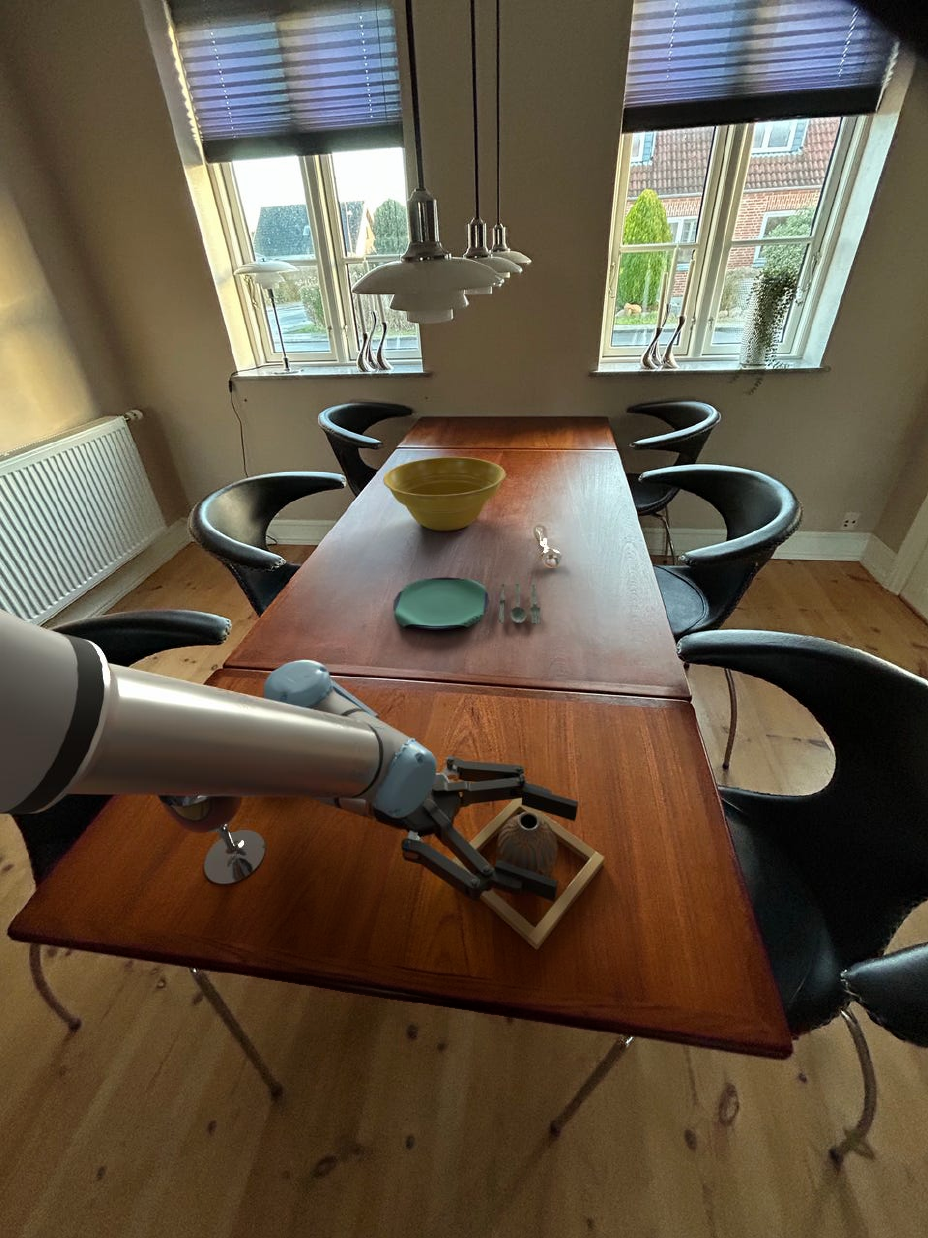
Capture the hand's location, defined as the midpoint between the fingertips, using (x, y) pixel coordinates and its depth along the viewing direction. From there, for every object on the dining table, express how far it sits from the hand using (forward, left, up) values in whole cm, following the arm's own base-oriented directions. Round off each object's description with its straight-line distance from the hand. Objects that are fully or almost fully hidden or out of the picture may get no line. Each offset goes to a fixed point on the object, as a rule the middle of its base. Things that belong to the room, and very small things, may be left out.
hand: (567, 849), depth 58 cm
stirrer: (+67, +52, -6) cm, 85 cm away
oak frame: (-2, +4, -6) cm, 7 cm away
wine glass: (-25, +31, -6) cm, 40 cm away
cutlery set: (+34, +48, -6) cm, 59 cm away
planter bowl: (+63, +83, -6) cm, 105 cm away
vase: (-2, +4, -6) cm, 8 cm away
